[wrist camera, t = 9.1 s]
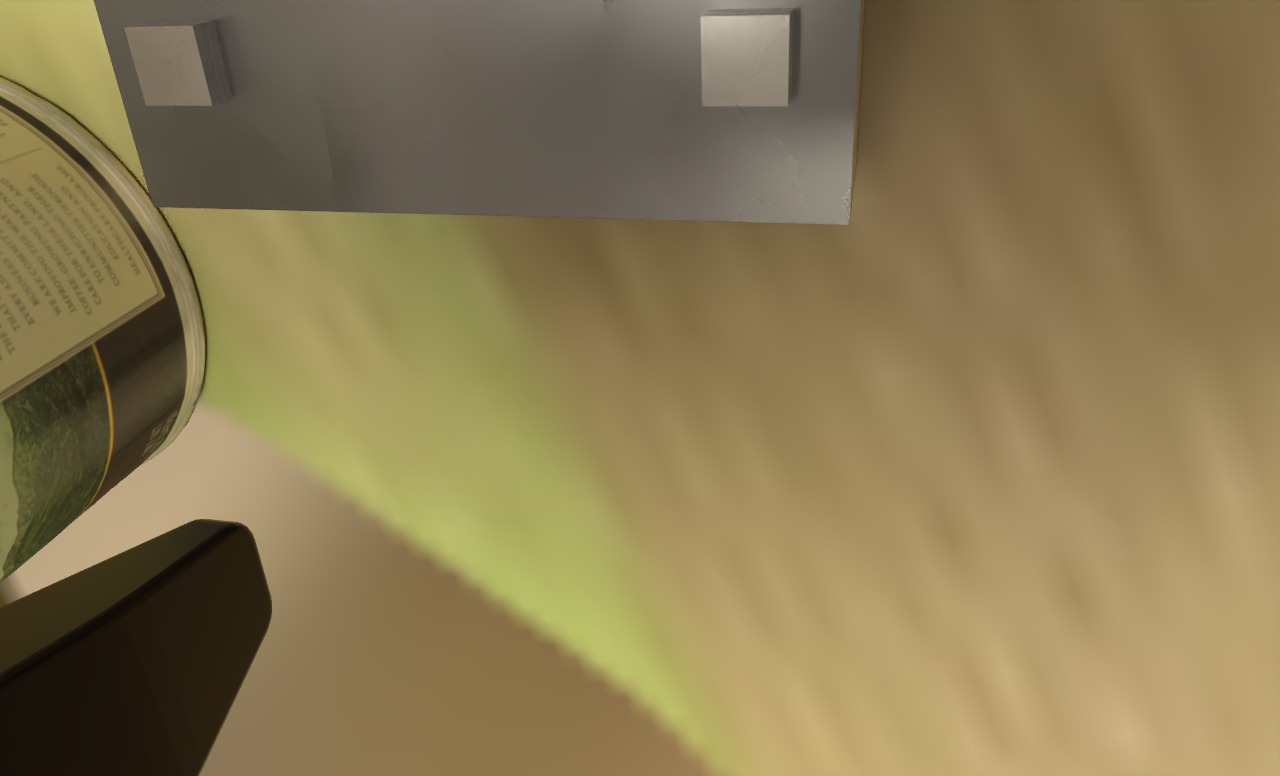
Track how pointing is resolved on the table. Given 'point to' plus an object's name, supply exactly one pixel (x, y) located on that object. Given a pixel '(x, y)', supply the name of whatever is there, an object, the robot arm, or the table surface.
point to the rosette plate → (496, 106)
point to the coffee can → (82, 325)
